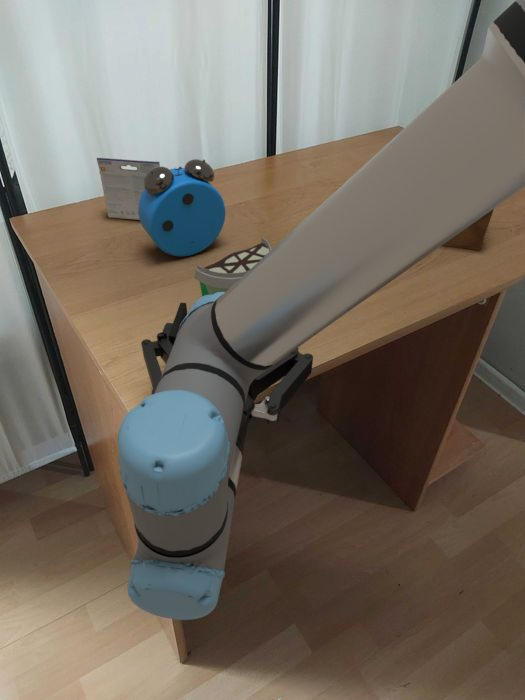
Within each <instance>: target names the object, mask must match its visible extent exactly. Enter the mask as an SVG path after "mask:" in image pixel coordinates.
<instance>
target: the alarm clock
mask: <svg viewBox="0 0 525 700" xmlns="http://www.w3.org/2000/svg"><path fill="white" fill-rule="evenodd" d="M214 179H215V171H214V169H213V168H212V166H211V164H209V163H208V162H206V160H205V159H198V158H193V159H190V160H188V161H187V162H186V163H185V165H184V167H182V166H177V167H174V168H169V167H165V166H160V167H155V168H153V169H151V170H150V171H149V172H148V173H147V174H146V176H145V178H144V188H145V189H144V191H143V193H142V195H141V198H140V201H139V218H140V220H139V221H140V224H141V226H142V228H143V230H144V231H145V232H146V234H147V235H148V236H149V238H150V239H151V240H152V241H153V243H154V245H156V246H157V248H158V249H159V250H161V251H163V253H166V254H168V255H170V256H174V257H189V256H194V255H196V254H198V253H201V252H203V251H204V250H206V249H208V247H210V246H211V245H212V244H213V243H214V242H215V241H216V240H217V238H218V237H219V235H220V233H221V231H222V229H223V226H224V224H225V220H226V206H225V201H224V199H223V197H222V194H221V193H220V192H219V191H218V190H217V188H215V187H214V186H213V184H211V183H212V182H214Z"/></svg>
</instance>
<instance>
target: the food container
mask: <svg viewBox="0 0 525 700" xmlns="http://www.w3.org/2000/svg"><path fill="white" fill-rule="evenodd" d="M260 240H261V242H260V243H258V244H256V245H254V246H252V247H249V248H247V249H243V250H239V251H235V252H233V253H230V254H228V255H226V256H225V257H223V258H222V259H220V260H218V261H216V262H214V263H212V264H209V265H207V266H205V267H204V266H201V265H199V264H197V263H196V268H195V270H194V280H196V281H197V282H199V286H200V292H201V297H203V296H205V295H209V294H215V293H217V292H226V291H227V290H228V289H229V288H231V287H232V286H233V285H234V284H235V283H236V282H237V281H238V280H239V279H240V278H241V277H243V276H244V275H245V274H246V273H247V272H248V271H249V270H250V269H251V268H252V267H253V266H255V265H256V264H257V263H258V262H259V261H260V260H261V259H262V258H263V257H264V256H265V255H267V254H268V253H269V252H270V251H271V250H272V249H273V248H272V247H271V244H270V243H269V242H268V240H267V239H266V238H264V237H263V236H261V239H260Z"/></svg>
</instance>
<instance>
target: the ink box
mask: <svg viewBox="0 0 525 700" xmlns="http://www.w3.org/2000/svg"><path fill="white" fill-rule="evenodd" d="M96 162H97V166H98V170H99V176H100V180H101V186H102V191H103V196H104V202H105V206H106V207H105V208H106V212H107V217H108V218H110V219H111V218H112V219H123V220H134V221H135V220H137V221H140V218H139V201H140V198H141V195H142V193H143V191H144V189H145V188H144V178H145V176H146V174H147V173H148V172H149V171H150V170H151V169H153V168H155V167H161V166H160V161H150V160H137V159H136V160H135V159H124V158H123V159H122V158H108V157H96ZM128 166H130V167H132V168H136V169H129V168H128V169H127V168H126V169H125V168H122V167H128Z"/></svg>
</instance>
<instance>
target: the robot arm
mask: <svg viewBox="0 0 525 700" xmlns="http://www.w3.org/2000/svg"><path fill="white" fill-rule="evenodd" d="M483 47H484V48H483V51H482V55H481V56H480V58H479V60H477V61H476V62H475V63H474V64H473V65H472V66H471V67H470V68H469V69H467V70H466V71H465V72H464V73H463V74H462V75H461V76H460V77H459V78H458V79H457V80H456V81H455V82H453V83H452V84H451V85H450V86H449V87H448V88H446V90H444V91H443V92H442V93H441V94H440V95H439V96H438V97H437V98H436V99H435V100H433V101H432V102H431V103H430V104H429V105H428V106H427V107H425V108H424V110H423V111H422V112H421V113H419V114H418V115H417V116H416V117H415V118H414V119H413V120H412V121H411V122H410V123H408V124H407V125H406V126H405V127H404V128H403V129H402V130H401V131H400V132H398V134H396V135H395V136H394V137H393V138H392V139H390V141H388V143H386V145H384V146H383V147H382V148H381V149H379V151H378V152H377V153H376V154H375V155H373V156H372V157H371V158H370V159H369V160H368V161H367V162H366V163H364V165H363V166H361V167H360V168H359V169H358V170H357V171H356V172H355V173H354V174H353V175H351V177H349V178H348V179H347V180H346V181H345V182H344V183H343V184H342V185H341V186H340V187H338V188H337V190H335V191H334V192H333V193H332V194H331V195H330V196H329V197H327V199H325V200H324V201H323V202H322V203H321V204H320V205H319V206H318V207H317V208H315V209H314V210H313V211H312V212H311V213H310V214H309V215H308V216H307V217H306V218H305V219H303V221H301V222H300V223H299V224H298V225H297V226H296V227H295V228H293V230H292V231H290V232H289V233H288V234H287V235H286V236H285V237H284V238H282V239H281V241H280V242H278V243H277V244H276V245H275V246H274V247H273V248H271V249H272V250H271V251H270V252H269V253H268V254H267V255H265V256H264V257H263V258H262V259H261V260H260V261H259V262H258V263H257V264H256V265H255V266H253V267H252V268H251V269H250V270H249V271H248V272H247V273H246V274H245V275H244V276H243V277H241V278H240V279H239V280H238V281H237V282H236V283H235V284H234V285H233V286H232V287H231V288H229V289H228V290H227V291H226V292H217V293H215V294H209V295H205V296H203V297H202V296H201V297H199V298H198V299H196V300H195V301H194V302H193V304H191V306H190V308H189V310H188V307H187V302H180V303H179V305H178V308H177V311H176V314H175V317H174V319H173V321H172V322H166V323H165V325H164V327H163V329H162V331H161V332H159V333H157V334H156V340H154V341H152V340H151V339H143V340H142V341H141V342H140V343H141V349H142V355H143V361H144V364H145V366H146V370H147V373H148V377H149V380H150V383H151V386H152V389H151V394H150V395H148V396H146V397H144V398H143V399H142V400H141V402H140V403H138V405H136V406H135V407H133V408H132V409H130V410H129V411H128V412H127V413H126V414H125V416H124V417H123V418H122V421H121V424H120V426H119V429H118V433H117V443H116V444H117V451H118V465H119V476H120V478H121V483H122V485H123V488H124V489H125V493H126V497H127V501H128V504H129V508H130V511H131V512H130V513H131V515H132V519H133V522H134V530H135V534H136V537H137V541H138V542H137V548H136V551H135V555H134V556H133V559H131V560H130V572H129V576H128V582H127V587H126V588H127V595H128V597H129V600H130V601H131V602H132V603H133V604H134V606H136V607H138V608H139V609H141V610H142V611H144V612H146V613H149V614H151V615H154V616H156V617H160V618H165V619H171V620H178V621H179V620H180V621H181V620H182V621H189V620H190V621H191V620H196V619H201V618H203V617H206V616H208V615H210V614H211V612H213V611H214V610H215V608H216V607H217V604H218V602H219V598H220V592H221V588H222V583H223V579H224V578H225V577H226V576H225V575H226V572H225V566H226V559H227V554H228V553H227V552H228V547H229V540H230V535H231V528H232V521H233V520H232V519H233V513H234V507H235V506H234V505H235V501H236V496H237V492H238V491H237V490H238V485H239V478H240V474H241V467H242V462H243V454H244V450H245V444H246V438H247V431H248V425H249V422H250V421H251V420H252V419H253V417H256V418H259V419H260V418H261V419H266V423H267V424H268V425H269V426H276V425H277V424H278V422H279V418H280V415H281V411H282V410H283V409H284V407H285V406H286V405H287V404H288V402H289V401H291V399H292V398H293V396H294V395H295V394H296V393H297V392H298V390H299V389H300V388H301V386H302V385H303V384H304V383H305V381H307V379H308V378H309V376H310V375H311V374H312V371H313V362H314V355H313V354H311V353H309V352H305V353H304V354H303V353H301V352H300V351H299V347H301V346H302V345H304V344H305V343H306V342H308V341H309V340H311V339H312V338H313V337H315V336H316V335H318V334H319V333H320V332H323V330H325V329H326V328H327V327H329V326H331V325H332V324H333V323H335V322H336V321H337V320H339V319H340V318H342V317H343V316H344V315H346V314H347V313H348V312H351V311H352V310H353V309H354V308H356V307H357V306H359V305H361V303H363V302H364V301H366V300H367V299H368V298H369V297H371V296H373V295H374V294H376V293H377V292H378V291H380V290H381V289H382V288H384V287H385V286H387V285H388V284H390V283H391V282H393V281H394V280H395V279H397V278H398V277H399V276H401V275H402V274H404V273H405V272H406V271H408V270H409V269H411V268H412V267H413V266H415V265H417V264H418V263H419V262H421V261H423V260H424V259H425V258H426V257H427V256H429V255H431V254H432V253H433V252H435V251H436V250H438V249H439V248H440V247H442V245H443V244H445V243H446V242H447V241H449V240H450V239H452V238H453V237H454V236H456V235H457V234H459V233H460V232H462V231H463V230H464V229H466V228H467V227H469V226H470V225H471V224H473V223H474V222H476V221H477V220H478V219H480V218H481V217H483V216H484V215H485V214H487V213H488V212H490V211H491V210H493V209H494V210H495V209H496V208H497V207H499V206H500V205H501V204H503V203H504V202H505V201H506V200H507V201H508V199H509V198H511V197H512V196H513V195H516V194H517V193H518V192H519V191H521V190H522V189H524V188H525V0H514V1H513V2H512V3H511V4H510V5H509V6H507V8H506V9H505V10H504V11H503V12H502V13H501V14H500V15H498V16H497V18H495V20H493V21H492V23H491V24H490V25H488V27H487V31H486V36H485V42H484V46H483ZM494 210H493V211H494ZM157 357H160V358H161V360H162V361H163V363H164V364H165V365H164V369H163V371H162V369H161V366H160V364H159V360H158V358H157ZM277 382H279V383H278V384H277V385H276V386H275V387H274V389H273V390H272V391H271V393H270V396H268V395H266V396H265V397H264V399H263V400H262V401H261V402H260V403H256V402H255V400H256V399H257V397H258V396H259V395H260V394H261V393H263V392H264V391H266V390H268V389H269V388H270V387H271V386H273V385H275V384H276V383H277Z"/></svg>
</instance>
